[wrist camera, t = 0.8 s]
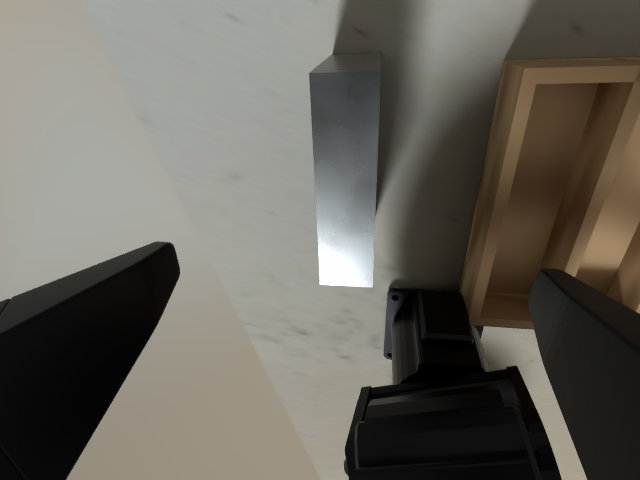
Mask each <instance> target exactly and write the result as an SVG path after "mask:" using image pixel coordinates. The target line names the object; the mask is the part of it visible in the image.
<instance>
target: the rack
mask: <svg viewBox="0 0 640 480" xmlns="http://www.w3.org/2000/svg"><path fill="white" fill-rule="evenodd" d="M541 268H553V269H561V270H563V271H565V272H566V273H568V274H570V275H572V276H573V277H575V278H577V279H579V280H581V281H582V282H584V283H586V284H588V285H589V286H591V287H593V288H595V289H597V290H598V291H600V292H602V293H604V294H606V295H607V296H609V297H611V298H613V299H614V300H616V301H618V302H620V303H622V304H623V305H625V306H627V307H629V308H630V309H632V310H634V311H636V312H638V313H639V314H640V56H635V57H601V58H566V59H531V60H504V62H503V67H502V72H501V78H500V83H499V88H498V93H497V98H496V103H495V108H494V114H493V119H492V124H491V129H490V134H489V139H488V144H487V150H486V155H485V160H484V165H483V170H482V175H481V180H480V186H479V191H478V196H477V201H476V206H475V211H474V217H473V222H472V227H471V232H470V237H469V242H468V247H467V253H466V258H465V263H464V268H463V273H462V278H461V283H460V289H459V292H460V293H461V294H462V296H463V300H464V303H465V307H466V310H467V314H468V317H469V321H470V324H471V325H476V326H491V327H505V328H520V329H534V326H533V322H532V318H531V314H530V310H529V305H528V299H529V294H530V291H531V289H532V286H533V283H534V280H535V277H536V274H537V272H538V271H539V270H540V269H541Z"/></svg>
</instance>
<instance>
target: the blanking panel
mask: <svg viewBox="0 0 640 480" xmlns="http://www.w3.org/2000/svg"><path fill="white" fill-rule="evenodd" d="M381 57H382V52H379V53H348V54H332V55H331V56H330V57H328V58H327V59H326V60H325V61H323V62H322V63H321V64H320V65H318V66H317V67H316V68H315V69H314V70H312V71H311V72H310V73H309V77H310V96H311V116H312V135H313V155H314V174H315V194H316V213H317V233H318V252H319V271H320V284H321V285H339V286H356V287H373V262H374V237H375V213H376V188H377V163H378V138H379V114H380V89H381Z"/></svg>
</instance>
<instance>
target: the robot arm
mask: <svg viewBox="0 0 640 480" xmlns="http://www.w3.org/2000/svg"><path fill="white" fill-rule="evenodd" d="M179 275H180V267H179V263H178V259H177V255H176V251H175V248H174V246H173V244H172V243H169V242H154V243H151V244H149V245H146V246H143V247H141V248H138V249H136V250H133V251H130V252H128V253H125V254H123V255H120V256H118V257H115V258H112V259H110V260H107V261H105V262H102V263H99V264H97V265H94V266H92V267H90V268H87V269H84V270H81V271H79V272H76V273H74V274H71V275H69V276H66V277H63V278H61V279H58V280H56V281H53V282H51V283H48V284H45V285H43V286H40V287H38V288H35V289H32V290H30V291H27V292H25V293H22V294H19V295H17V296H14V297H12V298H11V299H6V300H4V301H1V302H0V480H66V479H67V477H68V475H69V474H70V472H71V470H72V469H73V467H74V465H75V464H76V462H77V460H78V459H79V457H80V455H81V453H82V452H83V450H84V448H85V447H86V445H87V443H88V442H89V440H90V438H91V437H92V435H93V433H94V432H95V430H96V428H97V426H98V425H99V423H100V421H101V420H102V418H103V416H104V415H105V413H106V411H107V410H108V408H109V406H110V404H111V403H112V401H113V399H114V398H115V396H116V394H117V393H118V391H119V389H120V388H121V386H122V384H123V382H124V381H125V379H126V377H127V376H128V374H129V372H130V371H131V369H132V367H133V366H134V364H135V362H136V360H137V359H138V357H139V355H140V354H141V352H142V350H143V349H144V347H145V345H146V344H147V342H148V340H149V339H150V337H151V335H152V333H153V332H154V330H155V328H156V326H157V324H158V322H159V320H160V318H161V316H162V314H163V312H164V309H165V307H166V305H167V303H168V301H169V299H170V296H171V294H172V292H173V290H174V287H175V285H176V283H177V281H178V279H179ZM393 295H398V296H397V297H393ZM528 305H529V310H530V314H531V318H532V322H533V326H534V330H535V334H536V338H537V342H538V346H539V350H540V354H541V357H542V361H543V364H544V367H545V370H546V373H547V375H548V378H549V381H550V383H551V386H552V388H553V391H554V394H555V396H556V399H557V401H558V404H559V407H560V409H561V412H562V415H563V417H564V420H565V422H566V425H567V428H568V430H569V433H570V435H571V438H572V441H573V443H574V446H575V448H576V451H577V454H578V456H579V459H580V461H581V464H582V467H583V469H584V472H585V474H586V477H587V480H640V314H639V313H638V312H636V311H634V310H632V309H630V308H629V307H627V306H625V305H623V304H622V303H620V302H618V301H616V300H614V299H613V298H611V297H609V296H607V295H606V294H604V293H602V292H600V291H598V290H597V289H595V288H593V287H591V286H589V285H588V284H586V283H584V282H582V281H581V280H579V279H577V278H575V277H573V276H572V275H570V274H568V273H566V272H565V271H563V270H561V269H553V268H541V269H540V270H539V271H538V272H537V274H536V277H535V280H534V283H533V286H532V289H531V291H530V294H529V299H528ZM483 327H484V326H476V325H471V324H470V321H469V317H468V314H467V310H466V307H465V303H464V300H463V296H462V294H461V293H460V292H453V291H436V290H418V289H400V288H393V289H390V290H389V291H388V294H387V309H386V324H385V339H384V357H385V358H387V359H391V360H392V372H393V385H387V386H380V387H373V388H372V387H371V386H368V387H362V388H361V392H360V396H359V399H358V402H357V405H356V409H355V413H354V416H353V420H352V424H351V427H350V431H349V435H348V438H347V442H346V446H345V455H346V459H345V461H344V470H345V473H346V474H347V475H348V476H349V480H562V479H561V476H560V472H559V469H558V466H557V463H556V460H555V457H554V454H553V451H552V448H551V445H550V442H549V439H548V437H547V434H546V431H545V429H544V426H543V423H542V421H541V419H540V416H539V414H538V412H537V409H536V407H535V405H534V403H533V401H532V398H531V396H530V394H529V392H528V389H527V387H526V385H525V383H524V381H523V378H522V376H521V374H520V372H519V369H518V367H517V366H510V367H506V369H502V370H495V371H490V370H489V367H488V364H487V360H486V357H485V354H484V350H483V347H482V344H481V340H480V339H481V335H482V331H483ZM390 352H391V353H390Z"/></svg>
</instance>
